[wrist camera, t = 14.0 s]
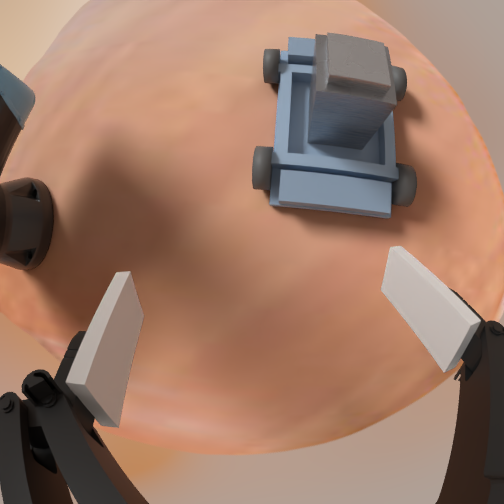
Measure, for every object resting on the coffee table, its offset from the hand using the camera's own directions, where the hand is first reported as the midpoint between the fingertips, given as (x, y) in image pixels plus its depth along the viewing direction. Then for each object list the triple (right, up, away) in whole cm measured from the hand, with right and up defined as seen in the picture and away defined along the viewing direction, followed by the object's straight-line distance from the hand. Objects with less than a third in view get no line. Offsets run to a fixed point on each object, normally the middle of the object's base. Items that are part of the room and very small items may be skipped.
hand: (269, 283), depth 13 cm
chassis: (+8, +16, +15) cm, 23 cm away
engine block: (+8, +16, +13) cm, 22 cm away
